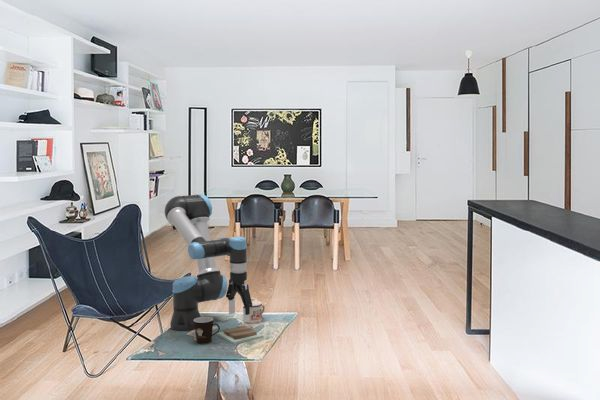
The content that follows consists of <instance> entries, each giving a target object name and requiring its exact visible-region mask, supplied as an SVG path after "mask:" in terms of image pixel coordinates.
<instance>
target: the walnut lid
mask: <svg viewBox="0 0 600 400" xmlns="http://www.w3.org/2000/svg"><path fill="white" fill-rule="evenodd" d="M223 332H224V334H225V335H227V336H229V337H231V338H233V339H235V340H237V339H241V338H245V337H250V336H254V335H257V332H258V331H257V330H255V329H253V328H251V327H248V326H246V325H241V326H237V327H232V328H228V329H224V330H223Z"/></svg>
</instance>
